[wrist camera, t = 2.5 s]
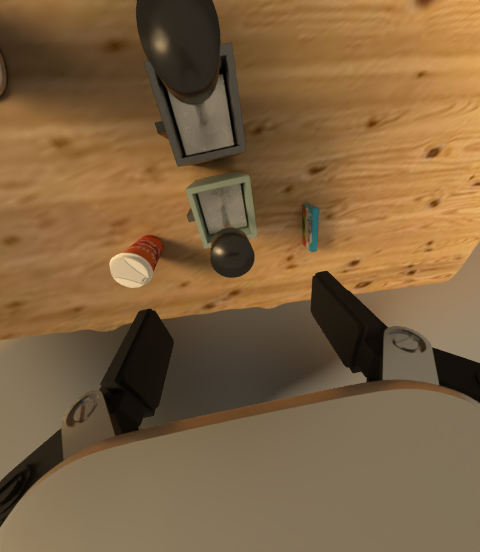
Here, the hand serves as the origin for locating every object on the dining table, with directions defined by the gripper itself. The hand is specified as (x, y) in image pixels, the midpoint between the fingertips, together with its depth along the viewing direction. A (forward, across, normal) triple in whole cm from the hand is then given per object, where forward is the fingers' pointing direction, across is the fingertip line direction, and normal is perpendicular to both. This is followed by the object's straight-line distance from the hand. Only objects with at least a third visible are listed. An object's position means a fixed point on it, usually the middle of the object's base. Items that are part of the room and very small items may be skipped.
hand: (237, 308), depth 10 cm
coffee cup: (+41, +22, +8) cm, 47 cm away
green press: (+40, 0, 0) cm, 41 cm away
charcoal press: (+40, 0, -13) cm, 42 cm away
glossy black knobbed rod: (+27, 0, 0) cm, 27 cm away
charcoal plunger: (+27, 0, -13) cm, 30 cm away
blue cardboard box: (+41, -22, +12) cm, 48 cm away
